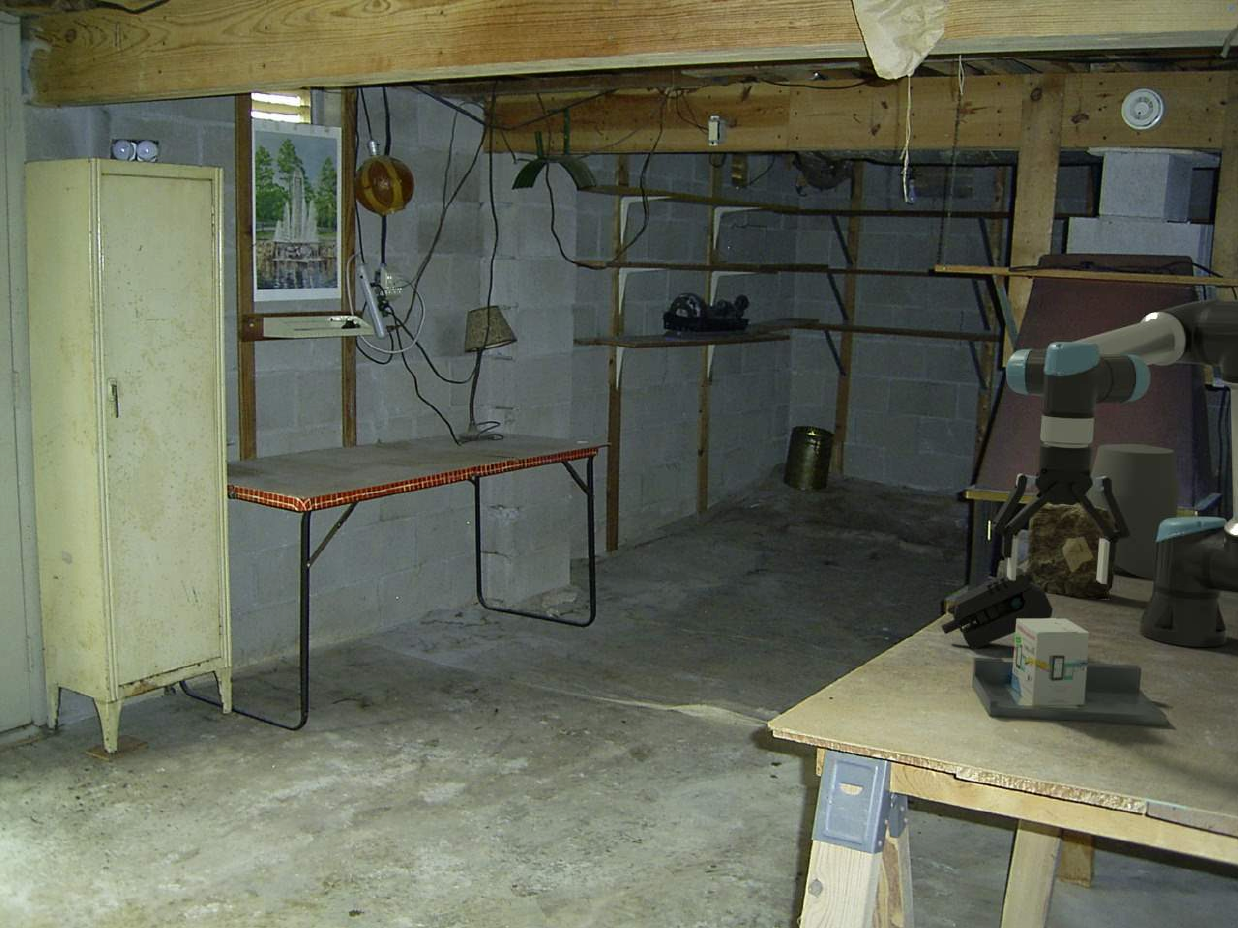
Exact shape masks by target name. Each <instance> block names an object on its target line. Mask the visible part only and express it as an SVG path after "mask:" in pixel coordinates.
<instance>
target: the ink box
mask: <svg viewBox="0 0 1238 928" xmlns="http://www.w3.org/2000/svg"><path fill="white" fill-rule="evenodd" d="M1014 634H1015V635H1014V647H1013V648H1014V649H1013V658H1014V659H1013V672H1012V685H1011V687H1012V688H1013V689H1014V690H1015V691H1017V692H1018V693H1019V694H1020V695H1021V696H1022V697H1024V698H1025V699H1026V700H1027V701H1028V702H1030V703H1031V704H1032V705H1084V700H1085V686H1086V673H1087V663H1088V658H1089V656H1088V655H1089V643H1090V632H1089V631H1087V630H1085V628H1083V627H1080V626H1079V625H1077V624H1076V623H1074V622H1072V621H1071V620H1069V619H1068V618H1065V617H1064V618H1056V617H1050V618H1043V619H1018V618H1017V619H1016V632H1014Z"/></svg>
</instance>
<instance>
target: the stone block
mask: <svg viewBox="0 0 1238 928" xmlns="http://www.w3.org/2000/svg"><path fill="white" fill-rule="evenodd" d="M1094 507H1095V506H1094ZM1095 508H1096V510H1097V511H1098V512H1099V514H1100V515H1101V516H1102V517H1103V519H1104V520H1105V521H1106V522H1107V524H1108V525H1109V526H1110V527H1111V529H1112V530H1116V528H1115V526H1114V524H1113V522H1112V519H1111V517H1110V515H1109V512H1108V510H1106V509H1103V508H1098V507H1095ZM1028 522H1029V523H1028V536H1027V537H1028V539H1027V540H1028V542H1027V543H1028V544H1027V547H1028V548H1027V560H1028V562H1027V567H1026V570H1025V572H1027V571H1029V572H1030V574H1031V576H1032V578H1033V580H1034V581H1032V582H1030V583H1033V584H1036V585H1039V586H1041V587H1042V588H1043V589H1044V592H1045V593H1049V594H1056V593H1059V594H1058V595H1061V594H1063V595H1062V596H1065V595H1066V596H1065V597H1071V596H1074V597H1073V598H1078V597H1081V598H1080V599H1088V598H1093V599H1092V600H1097V599H1107V600H1108V599H1109V600H1108V601H1110V600H1111V598H1110V590H1112V588H1113V586H1114V585H1113V584H1114V580H1115V579H1114V578H1115V575H1114V571H1115V564H1114V563H1115V559H1114V561H1113V562H1109V561H1108V572H1107V584H1101V583H1100V582H1099V581H1097V580H1096V578H1097V564H1098V551H1099V539H1105V538H1106V537H1105V536H1104V535H1103V533H1102V532H1101V531H1100V529H1099V528H1098V527H1097V526H1096V524H1095V523H1094V522H1093V521H1092V519H1091V518H1090V517H1089V516H1088V514H1087V513H1086V512H1085V510H1084V509H1083V508H1082V507H1081V506H1080V505H1076V504H1074V506H1073V505H1066V504H1060V505H1052V504H1050V503H1047V504H1046V505H1045V506H1044V507H1042V508H1040V509H1039V510H1038V511H1037V512H1036V513H1035V514H1034V515H1033V516H1032V518H1031V519H1030V520H1029V521H1028ZM1115 554H1116V551H1115ZM1094 598H1095V599H1094ZM1107 600H1106V601H1107Z"/></svg>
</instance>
